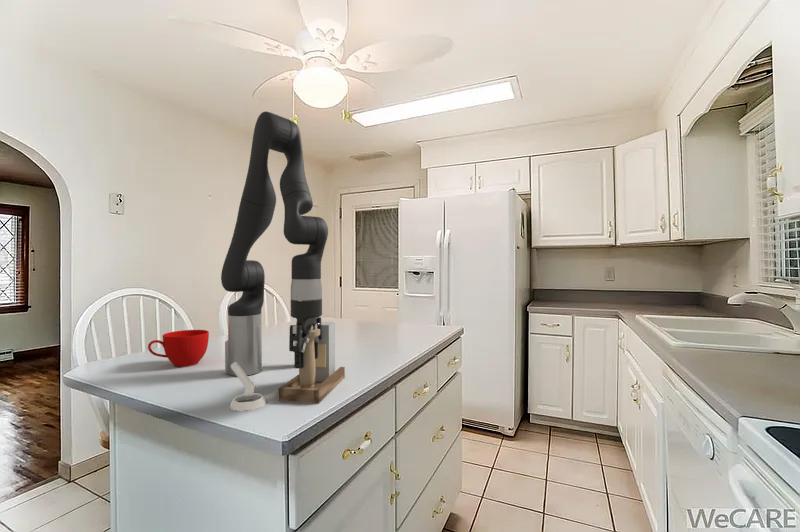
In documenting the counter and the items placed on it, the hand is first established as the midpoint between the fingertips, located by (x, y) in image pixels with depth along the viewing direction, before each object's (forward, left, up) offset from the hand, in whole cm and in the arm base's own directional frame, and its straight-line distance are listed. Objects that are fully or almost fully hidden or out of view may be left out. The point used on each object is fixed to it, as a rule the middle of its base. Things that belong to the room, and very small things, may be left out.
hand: (306, 363), depth 94 cm
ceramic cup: (-51, +20, -8) cm, 55 cm away
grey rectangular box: (0, +10, -7) cm, 12 cm away
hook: (-11, -8, -8) cm, 16 cm away
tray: (0, +5, -8) cm, 9 cm away
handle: (0, 0, -7) cm, 7 cm away
